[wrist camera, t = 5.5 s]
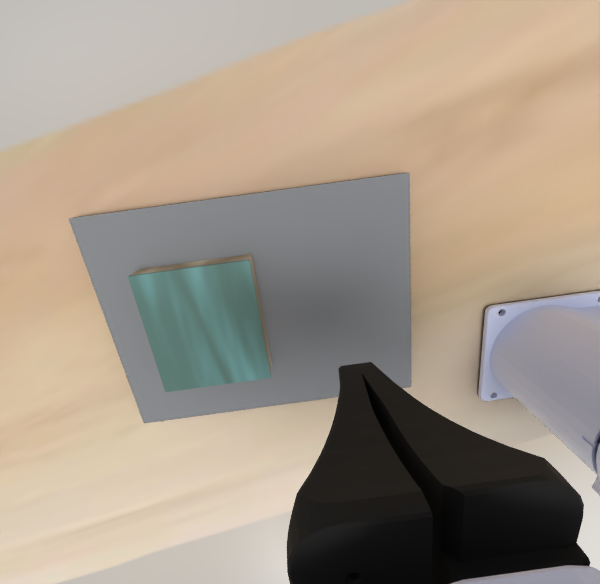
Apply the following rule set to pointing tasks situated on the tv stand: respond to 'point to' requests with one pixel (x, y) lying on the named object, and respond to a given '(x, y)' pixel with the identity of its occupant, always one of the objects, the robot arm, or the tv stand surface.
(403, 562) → the robot arm
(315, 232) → the mat
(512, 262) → the tv stand surface
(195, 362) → the tile
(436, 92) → the tv stand surface
